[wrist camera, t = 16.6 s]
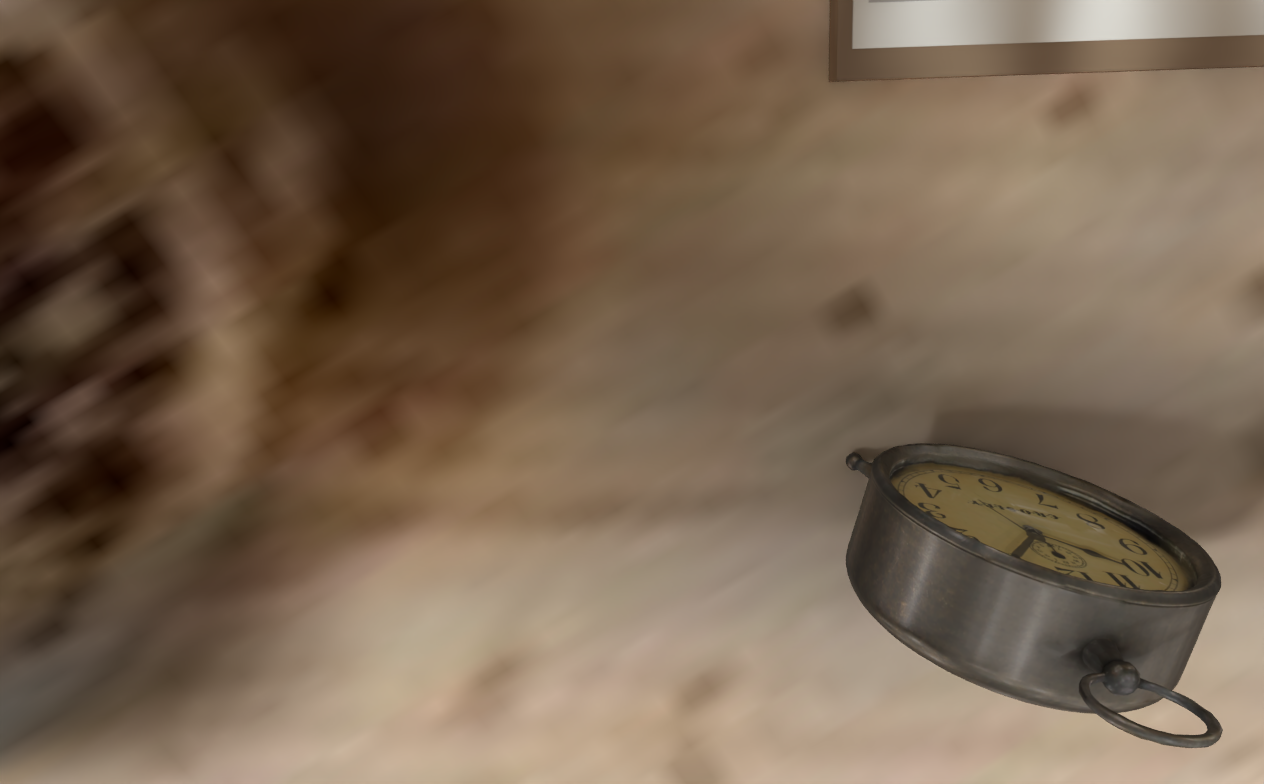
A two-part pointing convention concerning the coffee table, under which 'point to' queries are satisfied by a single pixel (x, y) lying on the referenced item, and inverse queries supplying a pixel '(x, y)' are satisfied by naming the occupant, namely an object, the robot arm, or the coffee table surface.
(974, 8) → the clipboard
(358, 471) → the coffee table surface
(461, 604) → the coffee table surface
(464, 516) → the coffee table surface
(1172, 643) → the alarm clock
